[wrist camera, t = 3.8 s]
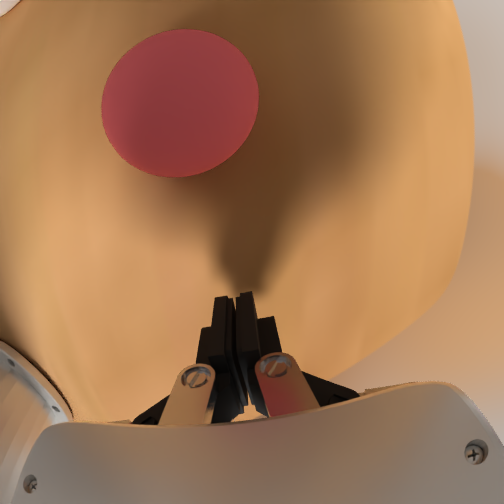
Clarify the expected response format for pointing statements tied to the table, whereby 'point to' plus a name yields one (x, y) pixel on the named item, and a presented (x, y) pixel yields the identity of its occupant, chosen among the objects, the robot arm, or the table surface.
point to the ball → (180, 103)
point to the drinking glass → (7, 6)
